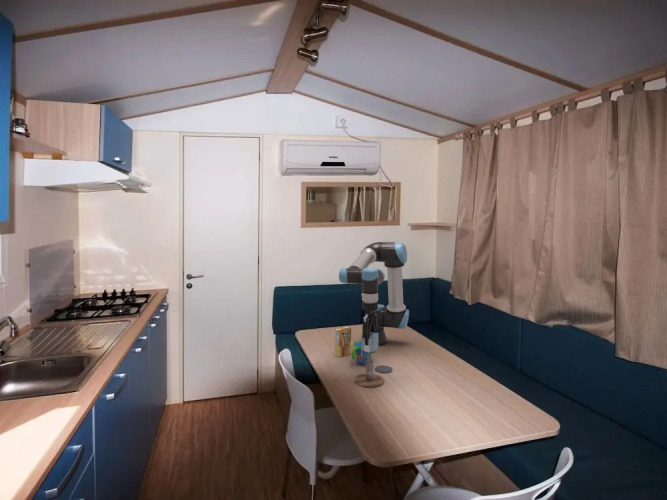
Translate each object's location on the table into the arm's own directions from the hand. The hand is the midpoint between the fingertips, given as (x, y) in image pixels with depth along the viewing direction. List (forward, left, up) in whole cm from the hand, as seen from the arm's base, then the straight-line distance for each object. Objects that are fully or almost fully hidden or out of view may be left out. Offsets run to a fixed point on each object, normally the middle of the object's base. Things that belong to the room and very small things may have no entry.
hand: (369, 349), depth 189 cm
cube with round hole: (0, 0, 0) cm, 0 cm away
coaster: (-7, +15, -16) cm, 23 cm away
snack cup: (-21, +13, -16) cm, 29 cm away
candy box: (-37, +11, -16) cm, 42 cm away
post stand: (0, 0, -16) cm, 16 cm away
